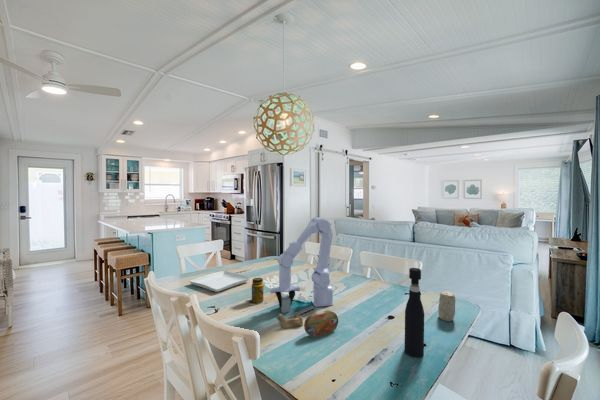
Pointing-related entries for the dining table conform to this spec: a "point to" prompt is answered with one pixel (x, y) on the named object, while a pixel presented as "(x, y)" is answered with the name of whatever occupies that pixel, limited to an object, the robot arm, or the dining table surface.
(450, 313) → the beige upright cylinder
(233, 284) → the square plate
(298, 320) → the wooden frame
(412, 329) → the wine bottle
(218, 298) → the dining table surface
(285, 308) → the panel block
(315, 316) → the tin
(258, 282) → the condiment
